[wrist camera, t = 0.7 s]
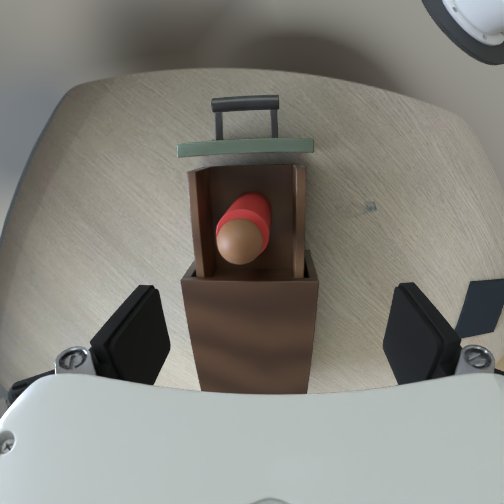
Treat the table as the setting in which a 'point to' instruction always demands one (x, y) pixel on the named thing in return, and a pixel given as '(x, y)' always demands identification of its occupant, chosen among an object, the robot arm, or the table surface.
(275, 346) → the cabinet
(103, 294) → the table surface
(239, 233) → the red cylinder
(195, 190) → the drawer
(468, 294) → the coaster
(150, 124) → the table surface
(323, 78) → the table surface
